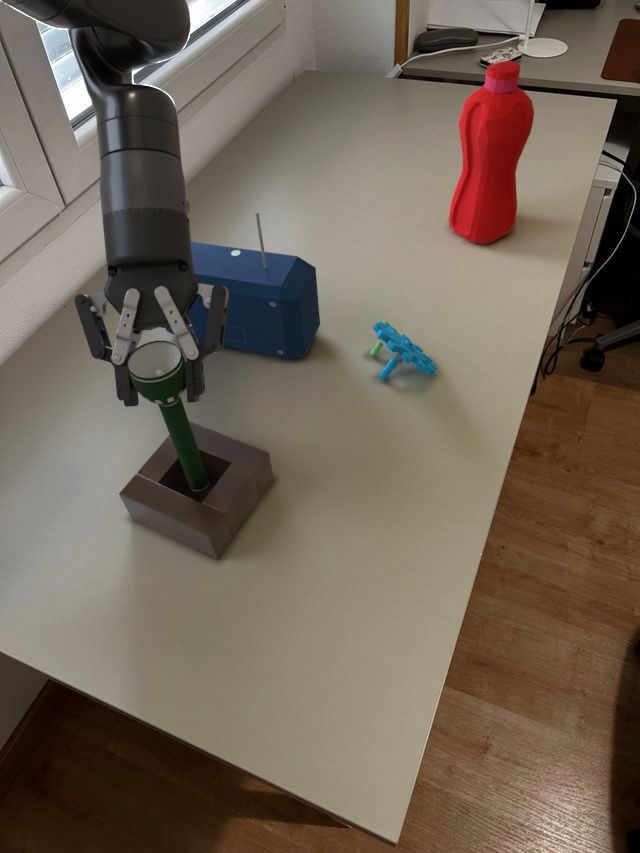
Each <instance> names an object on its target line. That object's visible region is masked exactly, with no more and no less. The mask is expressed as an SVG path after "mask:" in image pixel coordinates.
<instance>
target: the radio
mask: <svg viewBox="0 0 640 853" xmlns="http://www.w3.org/2000/svg"><path fill="white" fill-rule="evenodd" d="M254 215H255V219H256V226H257V233H258V237H259V239H258V240H259V245H260V250H254V249H247V248H241V247H240V248H239V247H233V246H227V245H226V246H225V245H217V244H211V243H203V242H197V241H196V242H195V241H191V247H192V259H193V270H194V274H195V276H196V278H197V280H198V281H199V283H200V284H206V285H213V286H215V285H217V284H220V285H223V286H224V287H226V288H227V289H228V290H229V292H230V297H229V304H228V311H227V319H226V326H225V333H224V340H223V347H222V349H223V348H224V349H228V350H235V351H240V352H245V353H251V354H255V355H256V354H257V355H263V356H269V357H273V358H279V359H284V360H294V359H298V358H301V357H304V356H306V355H307V353H308V351H309V349H310V347H311V345H312V343H313V341H314V339H315V337H316V334H317V332H318V330H319V328H320V327H321V316H320V305H319V293H318V280H317V268H316V267H315V266H314V265H312V264H311V263H309V262H307V261H306V260H305V259H303V258H301V257H299V256H297V255H291V254H284V253H277V252H268V251H265V247H264V240H263V234H262V233H263V232H262V226H261V221H260V220H261V218H260V214H259V212H255V213H254ZM187 315H188V318H189V320H190V322H191V324H192V326H193V328H194V330H195V333H196V336H197V338H198V341H199V343H201V342H203V341H205V337H206V330H207V323H208V315H209V308H207V307H205V306H204V304H203V297H202V296H201V295H199V296H198V297H197V299H196V301H195V302H194V304H193V306H192V307H191V309H190V311H189V312H188V314H187ZM165 330H166V332H168V333H170V335H172V336H175V334H174V332H173V330H172V328H171V329H167V328H165Z"/></svg>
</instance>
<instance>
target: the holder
mask: <svg viewBox="0 0 640 853" xmlns="http://www.w3.org/2000/svg"><path fill="white" fill-rule="evenodd" d="M189 423H190V426H191V429H192V432H193V435H194V438H195V441H196V444H197V447H198V450H199V453H200V456H201V459H202V461H203V464H204V467H205V470H206V473H207V476H208V477H211V478H213V479H215V480H218V481H217V482H216V484H214V486H213V487H212V489H210V491H209V492H208V494H207V496H205V498H204V499H203V500H202V501H201V502H200V501H198V500H196V499H193V498H191V497H189V496H187V495H185V494H182V492H183V491H184V489H185V488H186V487H187V486H188V485H189V483H188V481H187V478H186V475H185V473H184V470H183V468H182V465H181V462H180V460H179V457H178V455H177V452H176V449H175V447H174V444H173V442H172V439H171V436H170V434H168V436H167V437H166V438H165V439H164V440H163V442H161V444H160V445H159V446H158V448H157V449H155V451H154V452H153V453H152V455H151V456H150V457H149V458H148V459H147V460H146V461H145V463H144V464H143V465H142V466H141V467H140V469H138V471H137V472H136V473H135V475H134V476H133V477H131V479H130V480H129V481H128V483H127V484H126V485H125V486H124V487H123V488H122V490H120V492H119V493H118V495H119V498H120V499H121V501H122V503H123V506H124V507H125V508H126V510H127V512H128V514H129V517H130V518H131V519H132V520H134V521H135V522H138V523H140V524H141V525H144V526H146V527H148V528H150V529H152V530H154V531H156V532H158V533H160V534H162V535H164V536H166V537H169V538H171V539H173V540H175V541H177V542H179V543H181V544H183V545H185V546H187V547H190V548H191V549H194V550H195V551H198V552H200V553H202V554H205V555H206V556H209V557H210V558H212V559H215V560H217V561H219V559H220V557H221V556H222V555H223V553H224V552H225V551H226V550H227V547H228V546H229V545H230V543H231V542H232V540H234V539H233V538H234V537H235V536H236V534H237V533H238V532H239V530H240V528H242V526H243V524H244V523H245V522H246V521H247V518H248V517H249V516H250V514H252V511H253V510H254V508H255V507H256V506H257V504H258V503H259V501H260V500H261V499H262V497H263V496H264V495H265V493H266V491H267V490H268V489H269V487H270V486H271V484H272V482H274V480H275V476H274V472H273V467H272V461H271V458H270V452H269V451H266V450H264V449H261V448H258V447H256V446H253V445H250V444H248V443H245V442H243V441H240V440H238V439H235V438H234V437H231V436H228V435H225V434H223V433H220V432H218V431H215V430H213V429H211V428H208V427H204V426H203V425H200V424H198V423H196V422H193V421H190V420H189Z"/></svg>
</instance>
